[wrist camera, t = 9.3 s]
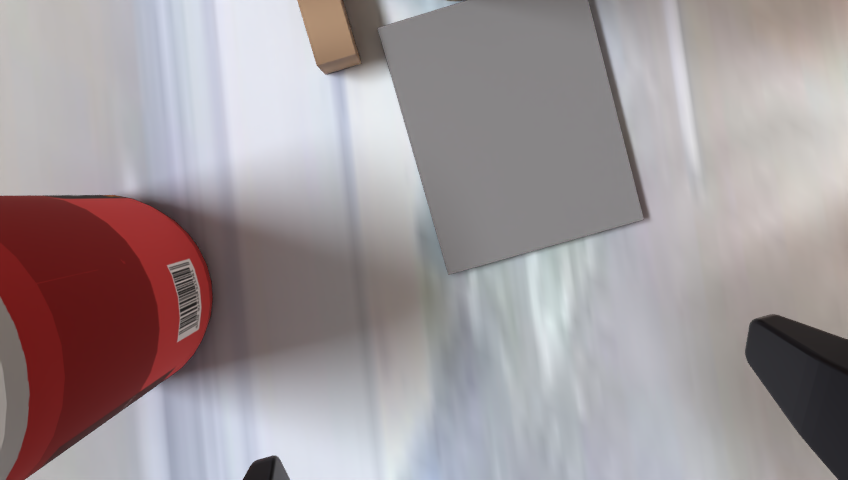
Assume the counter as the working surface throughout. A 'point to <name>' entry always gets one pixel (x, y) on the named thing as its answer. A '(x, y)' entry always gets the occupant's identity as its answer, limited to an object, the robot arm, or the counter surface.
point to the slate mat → (511, 126)
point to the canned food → (88, 316)
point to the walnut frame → (329, 34)
